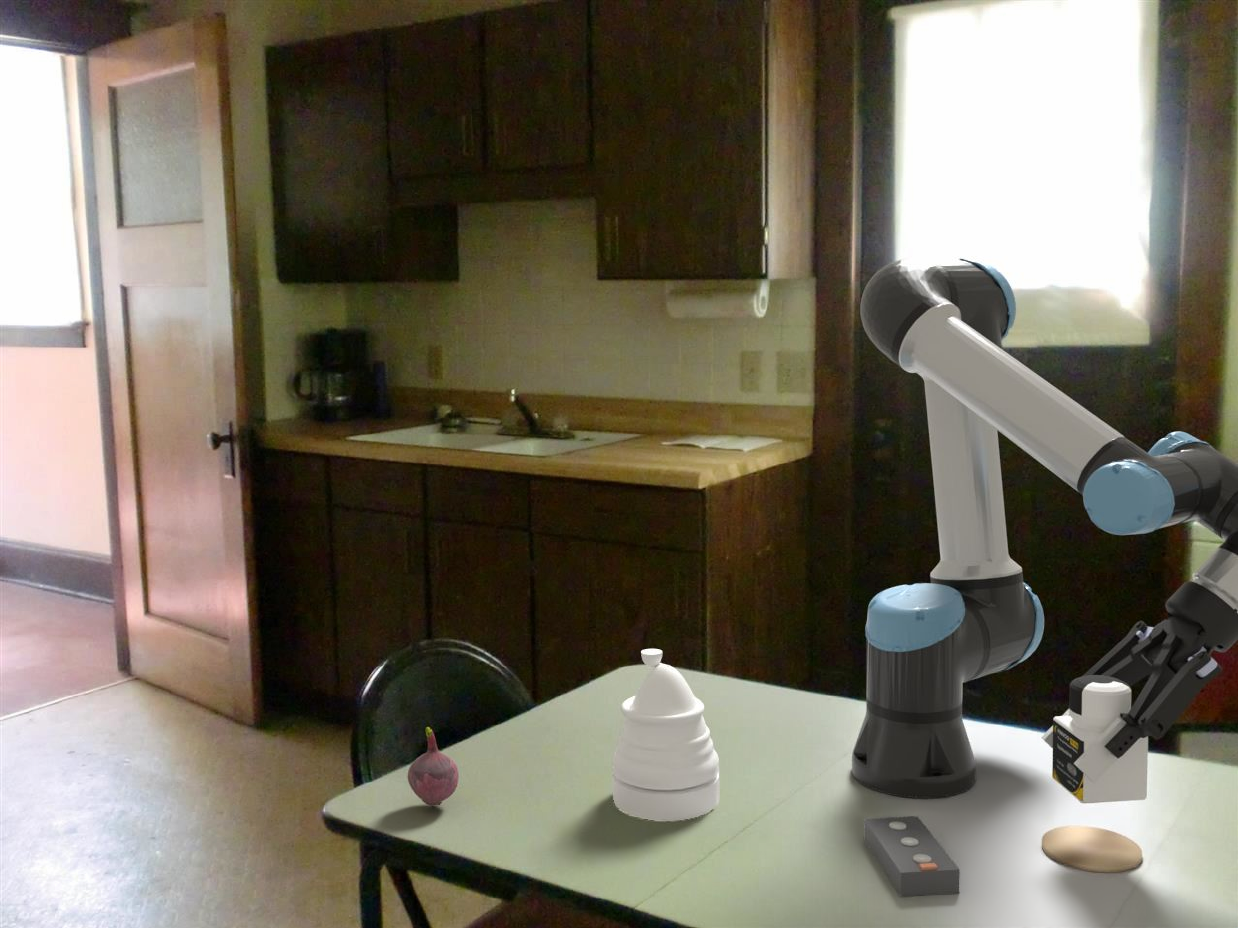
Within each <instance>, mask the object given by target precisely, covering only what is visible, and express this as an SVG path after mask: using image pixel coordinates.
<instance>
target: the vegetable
mask: <svg viewBox="0 0 1238 928" xmlns="http://www.w3.org/2000/svg"><path fill="white" fill-rule="evenodd" d="M424 735H425V736H426V741H427V750H426V752H425V753H423V754H421V755H420V756H418V757H417V758H416V759H415V760H414V761H413V762H412V764H410V766H409V768H408V770H407V771H408V772H407V781H408V784H409V786H410V788H411V790H412V791H413V792H414V794H415V795H416V796H417V797H418V798H420V800H421V802H423V803H425V805H427V806H429V807H432V806H434V807H435V806H436V807H437V806H441V805H442V804H443V801H445V800H447V799H449V798H450V797H451V796H452V795H453V794H454V793H455V791H456V790H457V787H458V783H459V769H458V766H457V764H456V762H454V760H453V759H451V757H449V756H447V755H446V754H444V753H442V752H441V750H439V749H438V744H437V740H436V737H435V734H434V732H433V730H432V728H430V727H429V726H426V727H425V734H424Z"/></svg>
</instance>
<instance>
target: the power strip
mask: <svg viewBox="0 0 1238 928" xmlns="http://www.w3.org/2000/svg"><path fill="white" fill-rule="evenodd" d="M863 841H864V843H865V844H866V846H867V848H868V849H869V850H870V852H871V854H872V855H873V857H874V858H875V860H876V861H877V862H878V864H879V866H880V867H881V869H882V871H883V872H884V873H885V875H886V876H887V877H888V879H889V881H890V882H891V884H892V886H893V887H894V889H895V890H896V892H897V893H898V895H899V897H900V898H901V897H903V898H904V897H917V896H919V897H920V896H932V895H933V896H934V895H936V896H937V895H952V894H953V895H954V894H960V885H961V884H960V877H961V876H960V875H961V873H960V871H961V869H960V868H959V867H958V865H957V864H956V862H954V861H953V859H952V857H950V855H949V854H948V853H947V852H946V850H945V849H944V848H943V846H942V845H941V844H940V842H939V841H938V840H937V838H936V837H934V835H933V834H932V832H931V831H930V830H929V829H928V828H927V826H926V825H925V824H924V822H923V821H922V820H921V818H920V817H919V816H918V815H911V816H910V815H909V816H893V817H892V816H891V817H890V816H888V817H872V818H871V817H870V818H864V819H863Z"/></svg>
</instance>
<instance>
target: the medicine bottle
mask: <svg viewBox="0 0 1238 928" xmlns="http://www.w3.org/2000/svg"><path fill="white" fill-rule="evenodd" d="M1068 704H1069V707H1068V709H1069V715H1070V716H1062V715H1059V716H1057V715H1056V716H1054V717H1053V719H1052V726H1053V748H1052V769H1051V771H1052V773H1051V774H1052V779H1053V780H1054V781H1055V782H1056V783H1058V784H1059V785H1060V786H1061V787H1062V788H1063V789H1064V790H1065V791H1066V792H1068V793H1069V794H1071V796H1073V797H1074V798H1075V799H1076V800H1077V801H1079V802H1080V804H1081V803H1082V804H1097V803H1112V802H1128V801H1129V802H1130V801H1144V800H1146V799H1147V798H1148V797H1147V796H1148V791H1147V790H1148V763H1149V762H1148V761H1149V760H1148V758H1149V757H1148V756H1149V736H1147V737H1145V738H1139V739H1138V740H1137V741H1136V742H1135V743H1134V744H1133V745H1132V746H1131V748H1129V750H1128V751H1126V753H1125V754H1124V755H1123V756H1121V757H1120V758H1118V759H1117V760H1116V761H1115V762H1114V763H1113V765H1112V766H1111V767H1110V768H1109V769H1108V770H1107V771H1106V772H1105V773H1104V774H1103V775H1102V776H1101V777H1100V778H1099V779H1098V780H1097V781H1096V782H1095V783H1094V782H1093V781H1092V780H1090V779H1089V778H1088V777H1087V776H1086V775H1085V774H1084V773H1083V772H1082V771H1081V770H1080V769H1079V768H1078V767H1077V766H1076V765H1075V764H1074V762H1075V761H1076V760H1077V759H1078V758H1079V757H1080V756H1081V755H1082V754H1083V753H1084V752H1085V751H1086V750H1087V749H1088V748H1089V747H1090V746H1091V745H1092V744H1093V743H1094V742H1095V741H1096V740H1097V739H1098V738H1099V737H1100V736H1101V734H1102V733H1103V732H1104V731H1105V730H1106V729H1107V728H1108V727H1109V726H1110V725H1111V724H1112V723H1113V722H1114V721H1115V720H1116V719H1117V718H1119V719H1120V720H1122V721H1123V722H1124V723H1125V724H1126V722H1125V721H1124V720H1123V719H1122V718H1121V717H1120V713H1127V714H1128V713H1129V711H1130V709H1131V708H1132V688H1131V687H1130V686H1129V685H1128V684H1127V683H1125V682H1123V681H1121V680H1119V679H1117V678H1114V677H1110V676H1103V675H1087V676H1083V675H1082V676H1079V677H1076V678H1074V679H1073V680H1071V682H1070V683H1069V703H1068Z"/></svg>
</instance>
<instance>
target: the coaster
mask: <svg viewBox="0 0 1238 928" xmlns="http://www.w3.org/2000/svg"><path fill="white" fill-rule="evenodd" d="M1041 848H1042V850H1043V852H1044V853H1045V854H1046V855H1047V856H1048V857H1049V858H1051V859H1052V860H1055V861H1056V862H1058V863H1060V864H1063V865H1065V866H1068V867H1071V868H1075V869H1077V870H1078V869H1079V870H1084V871H1087V872H1094V873H1119V872H1125V871H1130V870H1132V869H1135V868H1137V867H1139V865H1140V864H1141V862H1142V860H1143V859H1142V858H1143V851H1142V848H1141V847H1140V845H1139V844H1138V843H1137V842H1135V840H1133V839H1131V838H1129V837H1128V836H1126V835H1123V834H1122V833H1118V832H1115V831H1112V830H1108V829H1105V828H1101V827H1096V826H1095V827H1093V826H1087V825H1082V826H1081V825H1070V826H1069V825H1068V826H1060V827H1056V828H1053V829H1050V830H1048V831H1046V832H1045V833H1044V834H1043V835H1042V837H1041Z"/></svg>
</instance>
